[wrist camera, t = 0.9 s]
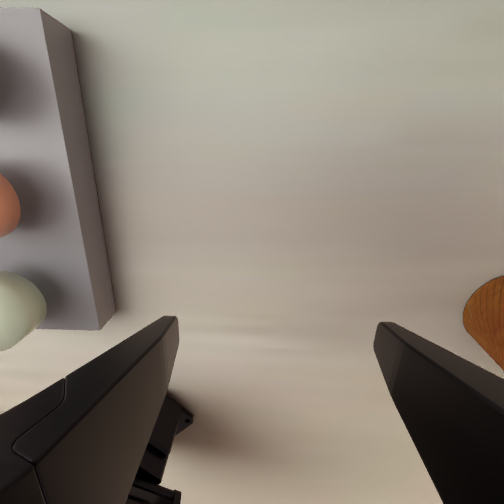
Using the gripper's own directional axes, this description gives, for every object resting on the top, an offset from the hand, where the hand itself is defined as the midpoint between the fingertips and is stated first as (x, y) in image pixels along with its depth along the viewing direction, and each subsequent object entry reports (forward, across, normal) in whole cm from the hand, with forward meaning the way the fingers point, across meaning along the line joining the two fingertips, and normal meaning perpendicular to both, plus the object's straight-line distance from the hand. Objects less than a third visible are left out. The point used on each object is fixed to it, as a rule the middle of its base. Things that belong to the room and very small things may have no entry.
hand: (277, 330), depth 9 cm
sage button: (+8, +16, +4) cm, 19 cm away
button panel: (+12, +16, -2) cm, 20 cm away
